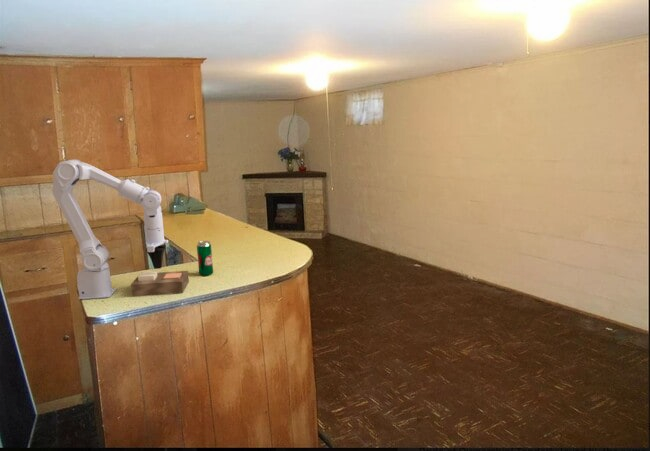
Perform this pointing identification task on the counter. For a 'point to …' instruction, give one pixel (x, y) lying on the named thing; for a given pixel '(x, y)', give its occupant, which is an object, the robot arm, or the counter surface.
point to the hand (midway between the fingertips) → (157, 268)
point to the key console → (160, 285)
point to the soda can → (204, 258)
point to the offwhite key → (147, 276)
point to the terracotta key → (172, 276)
